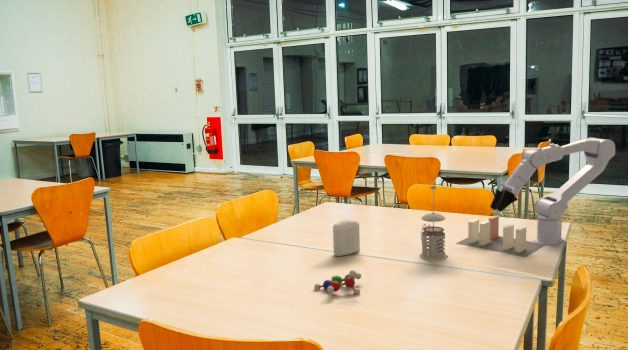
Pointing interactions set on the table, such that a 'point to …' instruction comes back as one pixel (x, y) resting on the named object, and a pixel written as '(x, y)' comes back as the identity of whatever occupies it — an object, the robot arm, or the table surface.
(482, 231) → the domino
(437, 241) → the french press
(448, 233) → the table surface
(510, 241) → the domino
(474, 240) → the domino
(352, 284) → the molecule model
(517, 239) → the domino
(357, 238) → the photo printer
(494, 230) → the terracotta domino
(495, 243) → the mat
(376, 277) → the table surface
